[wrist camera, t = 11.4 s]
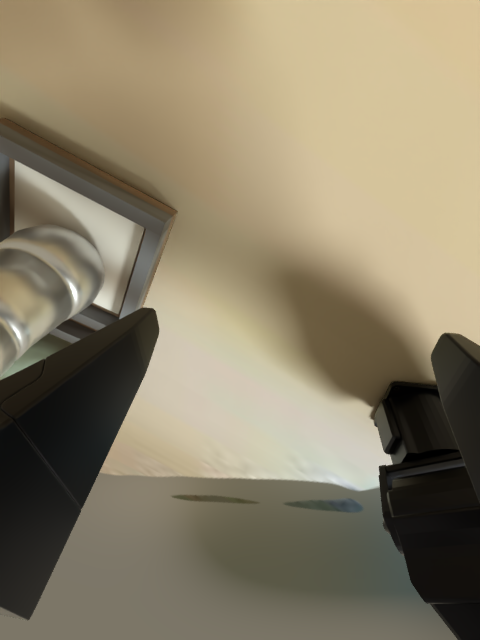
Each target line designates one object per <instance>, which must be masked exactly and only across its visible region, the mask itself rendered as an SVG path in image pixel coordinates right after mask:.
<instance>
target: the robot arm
mask: <svg viewBox="0 0 480 640" xmlns="http://www.w3.org/2000/svg"><path fill="white" fill-rule="evenodd" d="M158 335H159V325H158V320H157V315H156V311H155V310H154V309H153V308H140V309H138V310H136V311H134V312H132V313H130V314H129V315H127V316H125V317H123V318H121V319H119V320H117V321H115V322H113V323H111V324H109V325H107V326H105V327H104V328H102V329H100V330H98V331H96V332H94V333H92V334H90V335H88V336H86V337H84V338H82V339H80V340H79V341H77V342H75V343H73V344H71V345H69V346H67V347H65V348H63V349H61V350H59V351H57V352H55V353H53V354H52V355H50V356H48V357H46V359H42V360H40V361H38V362H36V363H34V364H32V365H30V366H28V367H26V368H24V369H22V370H20V371H18V372H16V373H14V374H12V375H10V376H8V377H6V378H4V379H2V380H0V615H4V616H9V617H13V618H18V619H22V620H29V619H30V617H31V615H32V614H33V612H34V610H35V608H36V606H37V604H38V601H39V599H40V597H41V595H42V593H43V591H44V589H45V586H46V585H47V582H48V580H49V578H50V576H51V574H52V572H53V570H54V568H55V565H56V563H57V561H58V559H59V557H60V555H61V553H62V551H63V548H64V546H65V544H66V542H67V540H68V538H69V536H70V533H71V531H72V529H73V527H74V525H75V523H76V521H77V519H78V517H79V515H80V512H81V509H82V507H83V506H84V503H85V501H86V499H87V497H88V495H89V493H90V491H91V489H92V486H93V484H94V482H95V480H96V478H97V476H98V474H99V472H100V469H101V467H102V465H103V463H104V461H105V459H106V457H107V455H108V452H109V450H110V448H111V446H112V444H113V442H114V440H115V438H116V435H117V433H118V431H119V429H120V427H121V425H122V423H123V421H124V418H125V416H126V414H127V412H128V410H129V408H130V406H131V404H132V401H133V399H134V397H135V395H136V393H137V391H138V389H139V387H140V384H141V382H142V380H143V378H144V376H145V373H146V371H147V368H148V365H149V362H150V359H151V356H152V353H153V350H154V347H155V344H156V341H157V338H158ZM431 362H432V366H433V370H434V374H435V378H436V382H437V386H432V385H423V384H413V383H403V382H393V383H391V384H390V386H389V388H388V390H387V392H386V395H385V397H384V399H382V400H381V402H380V404H379V407H378V409H377V411H376V413H375V419H374V425H375V426H376V427H378V431H379V435H380V439H381V442H382V446H383V450H384V452H385V453H386V454H390V456H391V459H392V463H393V465H388V466H386V465H382V466H379V472H380V475H379V482H380V492H381V502H382V512H383V526H384V529H385V530H386V531H387V532H388V533H389V534H390V535H391V537H392V539H393V541H394V543H395V545H396V547H397V549H398V550H399V552H400V553H401V554H402V555H404V556H405V560H406V564H407V568H408V572H409V576H410V580H411V583H412V584H413V586H414V587H415V589H416V590H417V592H418V593H419V595H420V596H421V598H422V599H423V600H424V601H425V602H426V603H427V604H431V605H432V607H433V608H434V609H435V611H436V612H437V613H438V614H439V616H440V617H441V618H442V619H443V621H444V622H445V624H446V625H447V626H448V627H449V629H450V630H451V631H452V633H453V634H454V635H455V636H456V638H457V639H458V640H480V346H479V345H477V344H476V343H474V342H472V341H471V340H469V339H467V338H466V337H464V336H462V335H460V334H455V333H444V334H442V335H441V336H440V338H439V340H438V342H437V344H436V346H435V348H434V350H433V352H432V354H431Z"/></svg>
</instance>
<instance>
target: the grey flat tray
mask: <svg viewBox="0 0 480 640" xmlns="http://www.w3.org/2000/svg"><path fill="white" fill-rule="evenodd" d="M176 214H177V211H175V210H173V209H172V208H170V207H168V206H166V205H164V204H162V203H160V202H159V201H157V200H155V199H153V198H151V197H149V196H148V195H146V194H144V193H142V192H140V191H138V190H137V189H135V188H133V187H131V186H129V185H127V184H125V183H124V182H122V181H120V180H118V179H116V178H114V177H113V176H111V175H109V174H107V173H105V172H103V171H101V170H100V169H98V168H96V167H94V166H92V165H90V164H89V163H87V162H85V161H83V160H81V159H79V158H78V157H76V156H74V155H72V154H70V153H68V152H66V151H65V150H63V149H61V148H59V147H57V146H55V145H54V144H52V143H50V142H48V141H46V140H44V139H42V138H41V137H39V136H37V135H35V134H33V133H31V132H30V131H28V130H26V129H24V128H22V127H20V126H18V125H17V124H15V123H13V122H11V121H9V120H7V119H6V118H2V119H0V242H2V241H3V240H5V239H6V238H8V237H9V236H10V235H12V234H13V233H15V232H16V231H18V230H21V229H24V228H29V227H33V226H38V225H45V224H50V225H57V226H60V227H63V228H66V229H69V230H72V231H74V232H76V233H78V234H80V235H81V236H83V237H84V238H85V239H87V240H88V241H89V242H90V243H91V244H92V245H93V246H94V248H95V249H96V250H97V252H98V253H99V255H100V257H101V259H102V262H103V266H104V273H105V281H104V285H103V287H102V289H101V290H100V292H99V294H98V295H97V297H96V298H95V300H94V301H93V303H92V304H90V305H89V306H88V307H87V308H85V309H84V310H82V311H81V312H80V313H78V314H77V315H75V316H73V317H71V318H70V319H68V320H66V321H64V322H62V323H61V324H60V325H58V326H57V327H56V328H54V329H53V330H52V331H51V332H49V333H48V334H47V335H45V336H44V337H43V338H42V339H40V340H39V341H38V342H36V343H35V344H34V345H32V346H31V347H30V348H29V349H28V350H27V351H26V352H25V353H24V354H23V355H22V356H21V357H20V358H19V359H18V360H17V361H15V362H14V364H13V365H12V366H11V367H10V368H9V369H8V370H7V371H6V372H5V373H4V374H3V375H2V376H1V377H0V380H2V379H4V378H6V377H8V376H10V375H12V374H14V373H16V372H18V371H20V370H22V369H24V368H26V367H28V366H30V365H32V364H34V363H36V362H38V361H40V360H42V359H46V357H48V356H50V355H52V354H53V353H55V352H57V351H59V350H61V349H63V348H65V347H67V346H69V345H71V344H73V343H75V342H77V341H79V340H80V339H82V338H84V337H86V336H88V335H90V334H92V333H94V332H96V331H98V330H100V329H102V328H104V327H105V326H107V325H109V324H111V323H113V322H115V321H117V320H119V319H121V318H123V317H125V316H127V315H129V314H130V313H132V312H134V311H136V310H138V309H140V308H143V305H144V302H145V300H146V297H147V294H148V291H149V288H150V286H151V283H152V280H153V277H154V275H155V272H156V269H157V266H158V264H159V261H160V258H161V255H162V253H163V250H164V247H165V244H166V241H167V239H168V236H169V233H170V230H171V228H172V225H173V222H174V219H175V217H176Z"/></svg>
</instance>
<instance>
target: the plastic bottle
mask: <svg viewBox="0 0 480 640" xmlns="http://www.w3.org/2000/svg"><path fill="white" fill-rule="evenodd" d="M104 281H105V273H104V266H103V262H102V259H101V257H100V255H99V253H98V252H97V250H96V249H95V248H94V246H93V245H92V244H91V243H90V242H89V241H88V240H87V239H85V238H84V237H83V236H81V235H80V234H78V233H76V232H74V231H72V230H69V229H66V228H63V227H60V226H57V225H50V224H45V225H38V226H33V227H29V228H24V229H21V230H18V231H16V232H15V233H13V234H12V235H10V236H9V237H8V238H6V239H5V240H3V241H2V242H0V377H1V376H2V375H3V374H4V373H5V372H6V371H7V370H8V369H9V368H10V367H11V366H12V365H13V364H14V362H15V361H17V360H18V359H19V358H20V357H21V356H22V355H23V354H24V353H25V352H26V351H27V350H28V349H29V348H30V347H31V346H32V345H34V344H35V343H36V342H38V341H39V340H40V339H42V338H43V337H44V336H45V335H47V334H48V333H49V332H51V331H52V330H53V329H54V328H56V327H57V326H58V325H60V324H61V323H62V322H64V321H66V320H68V319H70V318H71V317H73V316H75V315H77V314H78V313H80V312H81V311H82V310H84V309H85V308H87V307H88V306H89V305H90V304H92V303H93V301H94V300H95V298H96V297H97V295H98V294H99V292H100V290H101V289H102V287H103V285H104Z"/></svg>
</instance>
